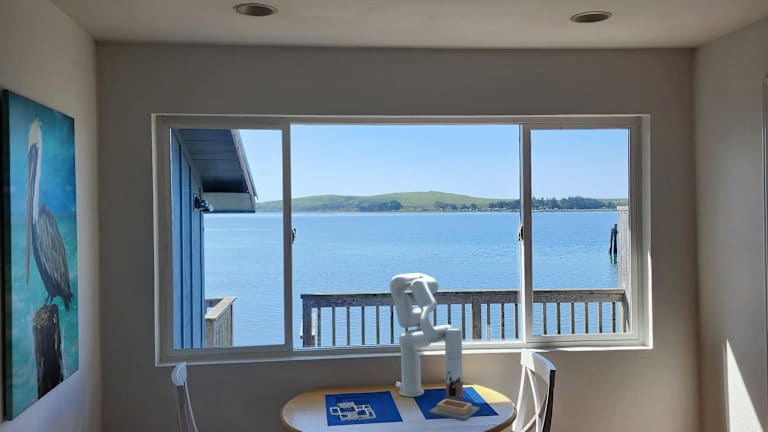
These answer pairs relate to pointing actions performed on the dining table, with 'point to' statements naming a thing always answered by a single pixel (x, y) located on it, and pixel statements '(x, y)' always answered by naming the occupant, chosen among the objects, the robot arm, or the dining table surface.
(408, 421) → the dining table surface
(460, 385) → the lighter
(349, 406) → the floor plan model
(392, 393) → the dining table surface
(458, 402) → the tan recessed tray
